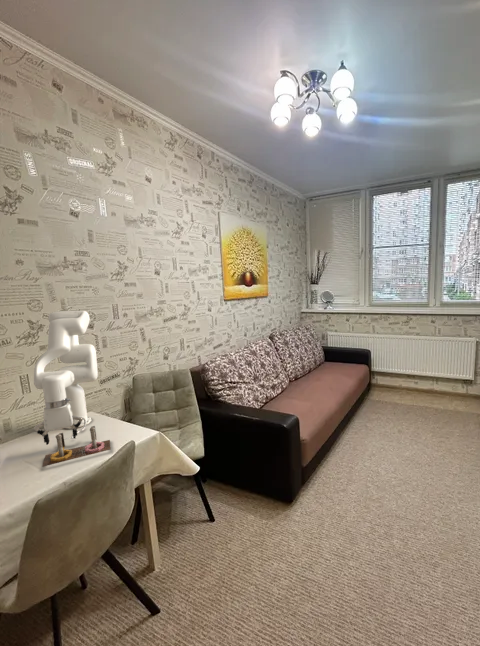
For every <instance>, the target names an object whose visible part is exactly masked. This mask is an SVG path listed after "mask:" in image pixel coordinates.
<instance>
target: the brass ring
mask: <svg viewBox="0 0 480 646" xmlns="http://www.w3.org/2000/svg"><path fill="white" fill-rule="evenodd" d="M58 434H60V435H61V436H62V437H61V439H62V446H63V453H69V454H67V455H65V456H63V457H59V458H55V456H57V455H58V454H59V452H58V451H56V452H53V453H54V454H52V453H51V454H52V455H51V458H50V459H51V461H60V460H64V459H66V458H68V457H70V456H71V455H72V450H69V449H67V448H66V443H65V437H64V432H59V433H58Z"/></svg>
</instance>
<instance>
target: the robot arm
mask: <svg viewBox="0 0 480 646" xmlns="http://www.w3.org/2000/svg"><path fill="white" fill-rule="evenodd" d="M90 318H91V317H90V314H89V313H88V311H86V310H59V311H52V312H50V313H49V314H48V322H49V323H48V337H47V338H48V339H47V342H48V343H47V350H45V352H43V354H41V356H40V357H39V358H38V360H37V361H36V362H35V365H34V368H33V369H34V370H33V384H34V387H35V388H36V389H37V390H42V392H43V399H44V406H45V407H44V408H43V421H41V422H39V423H38V424H37V425H35V426H34V427H33V430H34V432H36V433H37V434H39V435H41V437H43V443H45V444H46V445H49V444H50V437H49V436H50V435H49V432H51V431H58V430H62V429H67V430H68V429H69V430H72V436H73V438H74V439H75V438H77V436H78V433H77V431H78V428H83V427H84V420H83V418H82V417H84V418H85V419H86V426H87V425H88V424H90V423H91V422H92V417H90V416H88V411H87V402H86V395H85V389H84V388H83V386H81V385H80V384H87V383H93V382H96V381H97V379H98V376H99V370H98V357H97V356H98V355H97V350H96V346H94V345H93V343H92V344H91V343H79V342H80V341H79V336H83V335H84V334H85V333H86V332H87V330H88V327H89V325H90V321H91V319H90ZM58 358H59V360H60V362H61V363H63V364H76V365H67V366H63V367H60V368H59V369H58V370H53V371H52V370H51V371H45V368H46V366H47V365H48V364H49V363H51V362H52V361H55V360H56V359H58ZM77 363H86V364H77ZM41 427H43V428H44V430H43V429H40V428H41ZM74 439H73V440H74ZM75 440H76V439H75Z"/></svg>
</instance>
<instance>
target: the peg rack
mask: <svg viewBox="0 0 480 646" xmlns="http://www.w3.org/2000/svg"><path fill="white" fill-rule="evenodd" d="M95 431H96V427H95V428H94V427H92V426H91V427H90V428H89V432H90V438H91V443H92V446H91V447H90V448H88V449H91V450H92V449H96V448H98V447H100V446H101V445H96V442H97V440H96V439H97V436H96V437H95ZM61 437H62V436H61V435H60V434H59V433H58V434H56V435H55V439H56V444H57V452H59V454H58V455H57V456H55V458H59V457H63V456H65V455H67V454H69V453H63V446H62V439H61ZM101 442H103V443H104V448H102V449H101V450H99V451H96V452H92V453H88V452H85V447H86V446H87V445H88V444H86V445H81V446H78V447H73V448H70V449H69V448H68V450H72V455H71V456H70V457H68V458H66V459H64V460H60V461H51V459H50V458H51V455H52V454H54V453H55V452H52V453H48V454H45V456H44V459H43V463H42V465H41V467H42V468H44V467H48V466H52V465H54V464H55V465H56V464H59V463H63V462H67V461H71V460H76V459H79V458H82V457H86V456H90V455H95V454H99V453H102V452H106V451H110V450H111V440H110V439H106V440H103V441H101Z"/></svg>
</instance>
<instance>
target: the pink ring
mask: <svg viewBox="0 0 480 646" xmlns="http://www.w3.org/2000/svg"><path fill="white" fill-rule="evenodd" d="M91 427H94V428H95V429H96V426H95V425H93V426H91ZM95 437H96V445H101V446H100V447H98V448H96V449H92V450H91V449H88V448H90V447H91V446H92V442H91V443H89V444H86V445H87V446H86V447H85V452H88V453H92V452H96V451H99V450H101V449H102V448H104V443H103V442H102V441H97V432H96V430H95Z"/></svg>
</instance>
